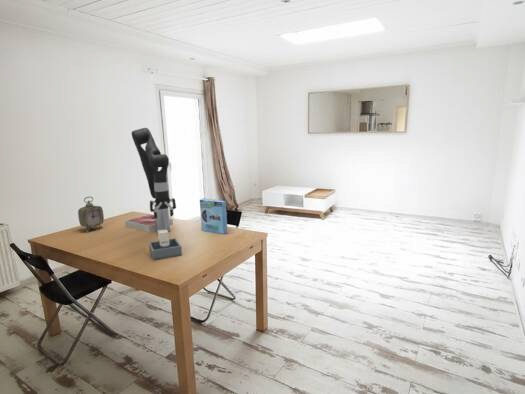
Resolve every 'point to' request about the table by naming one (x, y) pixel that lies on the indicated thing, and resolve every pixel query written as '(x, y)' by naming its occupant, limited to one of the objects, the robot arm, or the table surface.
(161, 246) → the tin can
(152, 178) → the robot arm
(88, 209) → the tabletop clock
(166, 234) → the cream box
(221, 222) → the gum box
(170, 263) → the table surface
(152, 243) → the tote
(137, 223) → the product packaging
